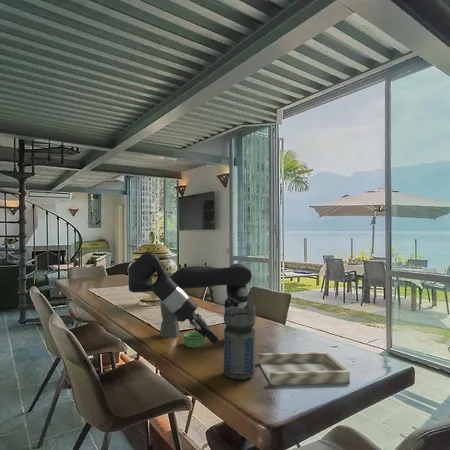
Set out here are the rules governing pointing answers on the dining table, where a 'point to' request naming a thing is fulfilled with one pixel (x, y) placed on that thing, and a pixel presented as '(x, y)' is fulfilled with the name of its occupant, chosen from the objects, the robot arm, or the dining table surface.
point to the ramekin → (193, 339)
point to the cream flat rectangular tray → (302, 368)
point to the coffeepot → (168, 323)
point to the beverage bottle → (239, 339)
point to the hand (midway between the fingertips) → (216, 341)
